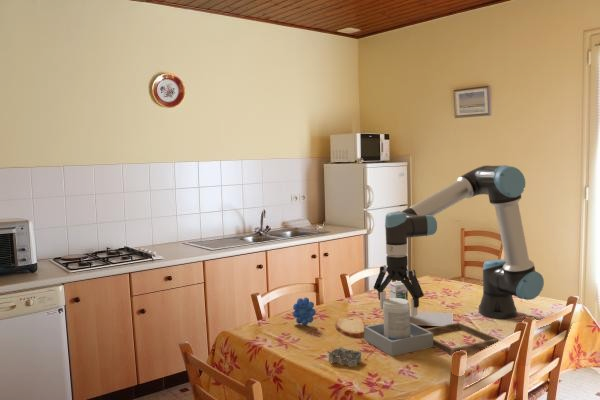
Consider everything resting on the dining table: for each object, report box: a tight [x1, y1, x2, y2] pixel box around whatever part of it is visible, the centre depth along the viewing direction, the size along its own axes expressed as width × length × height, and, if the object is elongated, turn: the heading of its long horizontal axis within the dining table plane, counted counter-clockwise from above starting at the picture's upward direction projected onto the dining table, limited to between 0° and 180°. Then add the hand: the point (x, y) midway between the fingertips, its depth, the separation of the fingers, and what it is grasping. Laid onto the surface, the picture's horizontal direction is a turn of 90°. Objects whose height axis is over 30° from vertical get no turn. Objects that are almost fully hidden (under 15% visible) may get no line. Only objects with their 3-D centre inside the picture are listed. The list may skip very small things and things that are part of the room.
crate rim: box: [424, 322, 499, 356], centre depth 189 cm, size 21×21×2 cm
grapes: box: [292, 297, 316, 326], centre depth 211 cm, size 12×7×12 cm, turn 51°
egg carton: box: [326, 346, 363, 368], centre depth 173 cm, size 11×8×4 cm
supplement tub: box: [382, 297, 411, 341], centre depth 188 cm, size 10×10×15 cm
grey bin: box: [363, 321, 434, 357], centre depth 188 cm, size 18×18×5 cm
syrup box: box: [389, 281, 409, 301], centre depth 219 cm, size 6×6×14 cm
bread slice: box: [334, 315, 366, 339], centre depth 205 cm, size 18×18×4 cm
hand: (398, 312), depth 187 cm, fingers open, 13 cm apart
